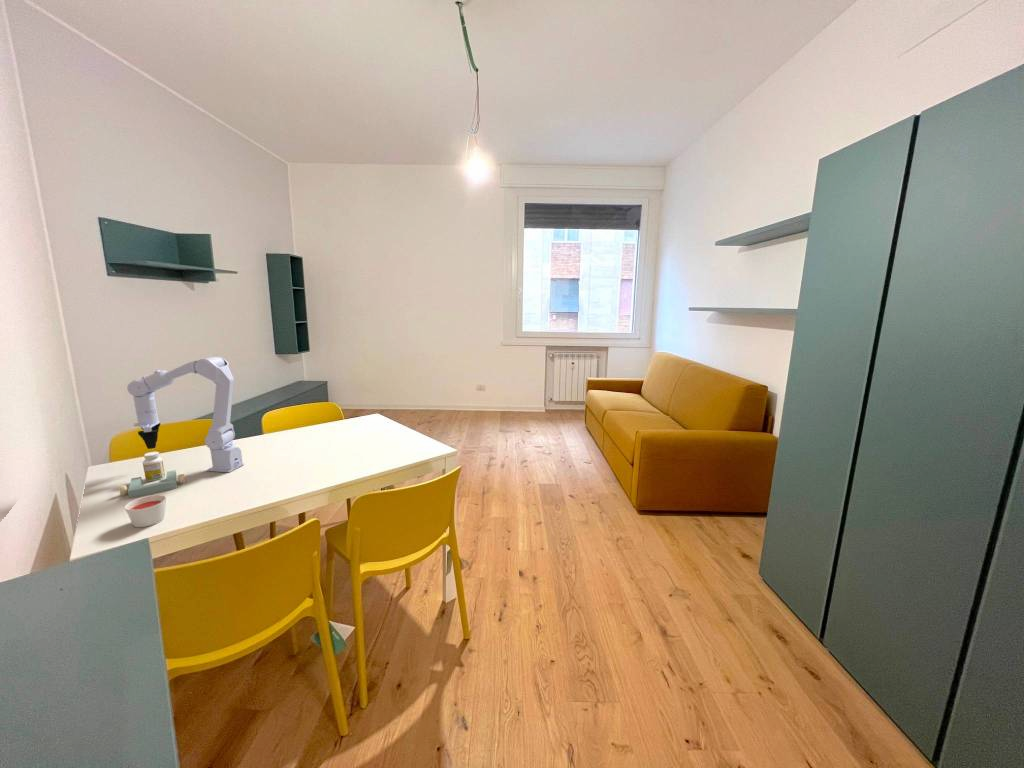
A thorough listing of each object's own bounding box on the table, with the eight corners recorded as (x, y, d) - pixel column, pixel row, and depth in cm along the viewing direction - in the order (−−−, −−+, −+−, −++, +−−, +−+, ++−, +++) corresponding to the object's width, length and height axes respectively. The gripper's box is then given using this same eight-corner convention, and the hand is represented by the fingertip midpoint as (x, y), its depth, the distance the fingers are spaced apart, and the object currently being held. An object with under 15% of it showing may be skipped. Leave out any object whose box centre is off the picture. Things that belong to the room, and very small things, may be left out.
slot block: (123, 486, 138) (121, 479, 138) (185, 474, 149) (183, 467, 148) (119, 500, 129) (117, 491, 129) (185, 486, 140) (183, 478, 139)
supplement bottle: (153, 475, 148) (149, 450, 146) (169, 475, 148) (165, 450, 146) (141, 481, 142) (137, 456, 140) (157, 481, 143) (153, 456, 141)
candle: (130, 533, 111) (126, 513, 110) (126, 521, 117) (123, 502, 116) (171, 521, 118) (168, 502, 117) (166, 510, 124) (163, 491, 123)
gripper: (134, 408, 150) (140, 441, 153) (129, 417, 139) (136, 453, 142) (158, 405, 154) (164, 438, 157) (156, 414, 143) (162, 449, 146)
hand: (152, 445), depth 150 cm, fingers open, 7 cm apart
